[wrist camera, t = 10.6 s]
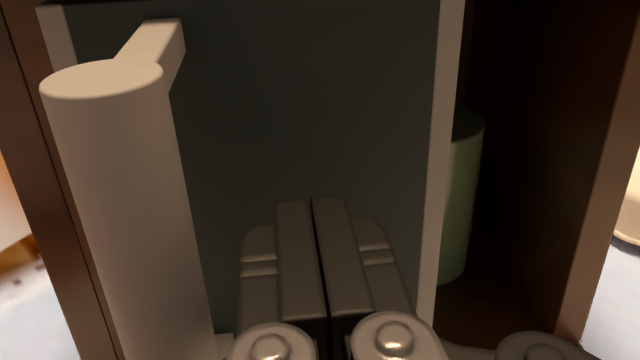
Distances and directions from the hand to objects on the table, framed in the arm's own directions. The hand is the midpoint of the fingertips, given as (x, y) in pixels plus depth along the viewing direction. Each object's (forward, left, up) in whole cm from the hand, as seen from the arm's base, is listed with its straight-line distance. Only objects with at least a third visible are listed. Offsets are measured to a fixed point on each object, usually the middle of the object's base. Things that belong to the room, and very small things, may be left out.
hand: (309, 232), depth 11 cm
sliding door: (+1, 0, -9) cm, 9 cm away
